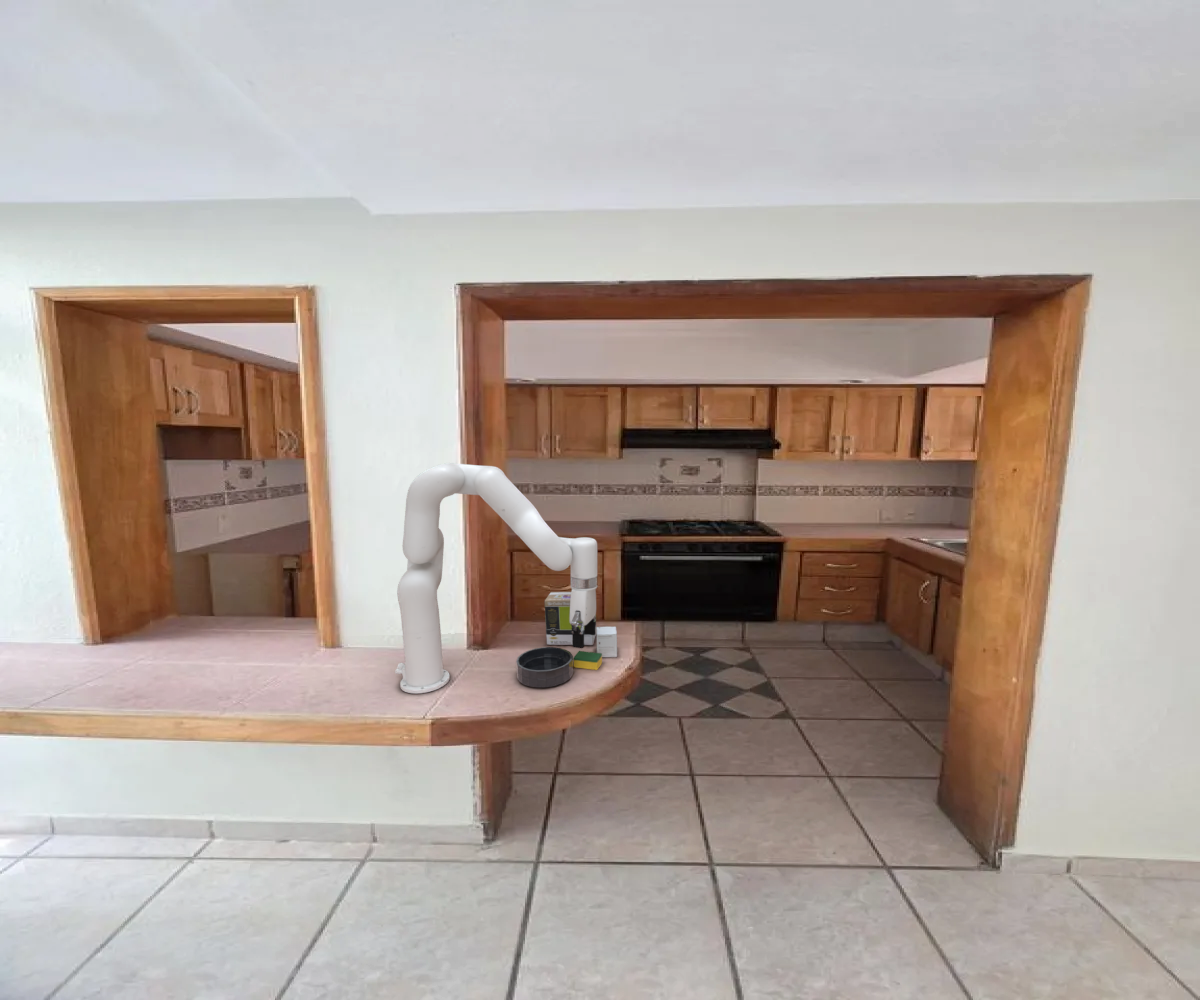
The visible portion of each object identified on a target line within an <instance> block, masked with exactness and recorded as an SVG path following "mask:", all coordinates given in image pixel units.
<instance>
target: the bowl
mask: <svg viewBox="0 0 1200 1000" xmlns="http://www.w3.org/2000/svg"><path fill="white" fill-rule="evenodd" d="M515 664H516V665H515V667H516V679H517V681H518V682H520V683H521V684H522V685H524V686H528V687H531V688H540V689H541V688H551V687H556V686H559V685H561V684H564V683H565V682H567V681H569V680H570V679H571V678H572V677H573V675H574V656H573V654H572V652H570V651H569V650H568V649H565V648H561V647H556V646H544V647H543V646H541V647H537V648H536V647H535V648H532V649H528V650H526V651H524V652H522V653H521V654H519V655H518V657H517V658H516V661H515Z"/></svg>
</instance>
